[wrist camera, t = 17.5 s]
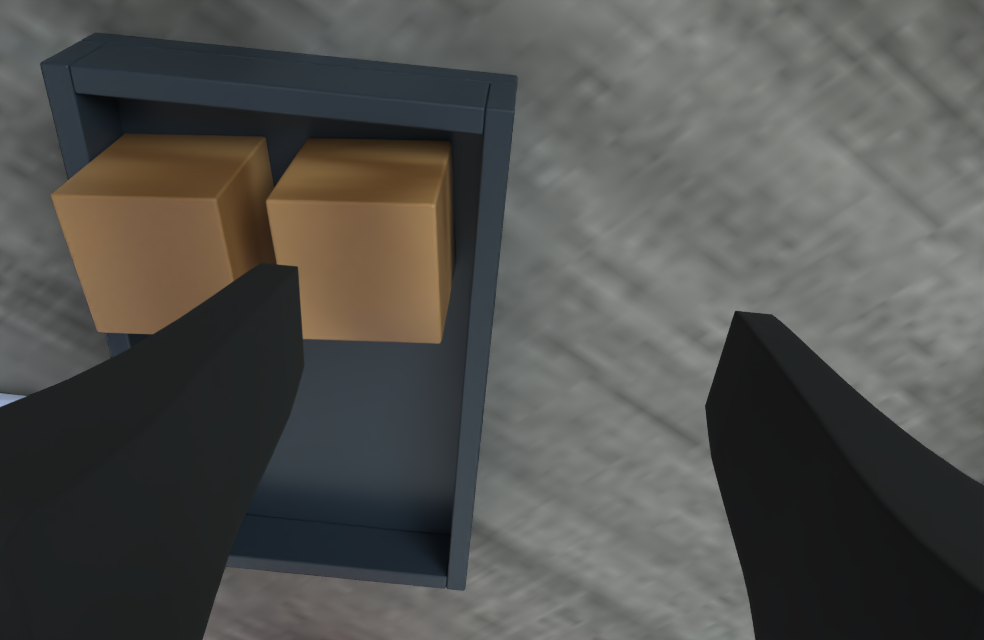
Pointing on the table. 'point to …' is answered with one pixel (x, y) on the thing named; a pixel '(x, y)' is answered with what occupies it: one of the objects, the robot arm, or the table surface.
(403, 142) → the cube
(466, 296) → the tray
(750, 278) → the table surface
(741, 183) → the table surface
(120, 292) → the cube
